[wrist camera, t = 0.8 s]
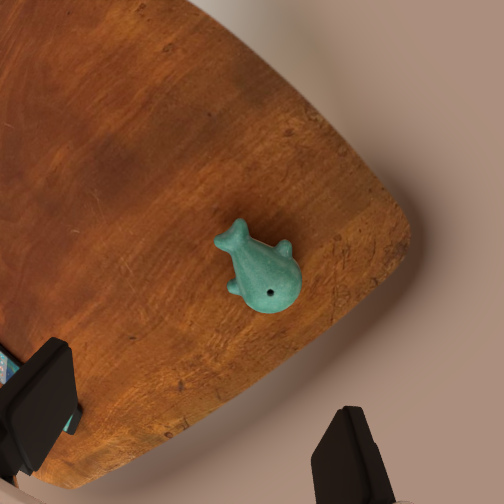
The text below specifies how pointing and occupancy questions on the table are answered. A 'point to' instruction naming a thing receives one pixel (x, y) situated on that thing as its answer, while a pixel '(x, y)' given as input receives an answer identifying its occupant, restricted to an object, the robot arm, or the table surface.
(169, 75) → the table surface
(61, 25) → the table surface
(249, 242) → the whale figurine
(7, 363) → the smartphone
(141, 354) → the table surface
